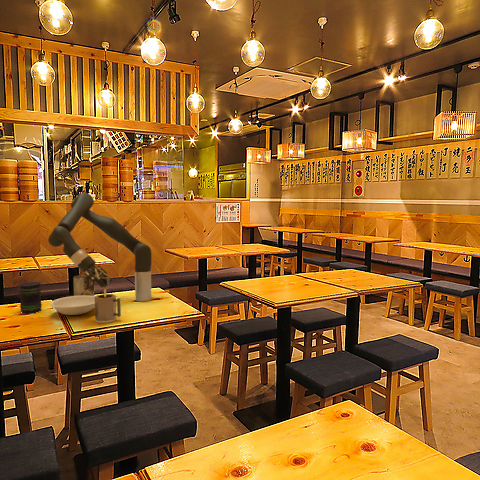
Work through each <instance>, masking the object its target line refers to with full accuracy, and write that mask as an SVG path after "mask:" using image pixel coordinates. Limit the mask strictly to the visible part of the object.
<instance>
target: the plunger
mask: <svg viewBox="0 0 480 480" xmlns="http://www.w3.org/2000/svg"><path fill="white" fill-rule="evenodd" d="M99 278H100V279H101V280H102V281H103V282H104V283H105V286H104V287H103V294H104V298H106V294H107V287H108V286H110V285H111V283H110V279H111V278H110V277H109V276H108V277H102V278H101V277H99ZM100 279H99V280H100Z"/></svg>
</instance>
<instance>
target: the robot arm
mask: <svg viewBox="0 0 480 480" xmlns="http://www.w3.org/2000/svg"><path fill="white" fill-rule="evenodd" d="M94 203H95V200H94V198H93V196H92V195H91V194H89V193H88V192H87V193H86V192H81V193H79V194H77V196H76V197H75V198H74V199H73V200H72V202H71V203H70V209H69V210H68V212H67V213H66V214H64V216H63V217H62V218H61V220H60V221H59V222H58V224H57V226H56V227H55V228H53V229H52V231H51V233H50V234H49V236H48V237H47V239H48V243H49V245H50V246H52V247H55V248H58V247H61V246H62V245H63V248H62V252H63V253H64V254H65V256H66V257H68V258H69V259H70V260H71V262H72V263H73V264H74V265H75V266H76V267H77V268H78V269H79V270H80V271H82V273H84V274H83V275H86V276H87V277H88V278H89V279H90V280H91V281H92V282H94V283H97V285H99V287H101V288H103V289H104V286H105V283H104V282H103V281H102V280H101V279H100V278H102V277H109V276H108V272H107V271H106V269H104V268H103V267H102V266H101V265H98V266H96V263H97V262H96V260H95V259H94V258H92V256H91V255H89V253H88V252H86V251H85V250H84V249H83V248H81V247H80V246H79V244H77V242H76V241H75V239H74V237H73V236H72V234H71V232H73V231H74V229H75V227H76V226H77V224H78V223H79V222H80V220H81V218H83V219H85V220H86V221H88V222H90V223H91V224H93V225H94V226H95V227H97V228H98V229H99V230H101V231H102V232H103V233H104V234H105V235H107V236H108V237H109V238H111V239H112V240H114V241H116V242H117V243H118V244H121V245H122V246H124V247H125V248H127V249H128V251H130V252H131V253H132V254H133V255H134V292H135V295H134V296H135V298H134V301H136V302H148V301H151V300H152V250H151V247H150V246H149V245H147V244H146V243H144V242H142V241H140V240H138V239H137V238H135V237H134V235H132V234H131V232H129V231H128V230H127V229H126V227H124V226H123V225H122V224H121V223H120V222H118V221H117V220H116V219H114V218H112V217H109V216H104V215H100V214H97V213H95V212H94V211H92V210H91V208H92V207H93V205H94ZM112 282H113V280H112V279H111V278H110V284H111V283H112Z"/></svg>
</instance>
